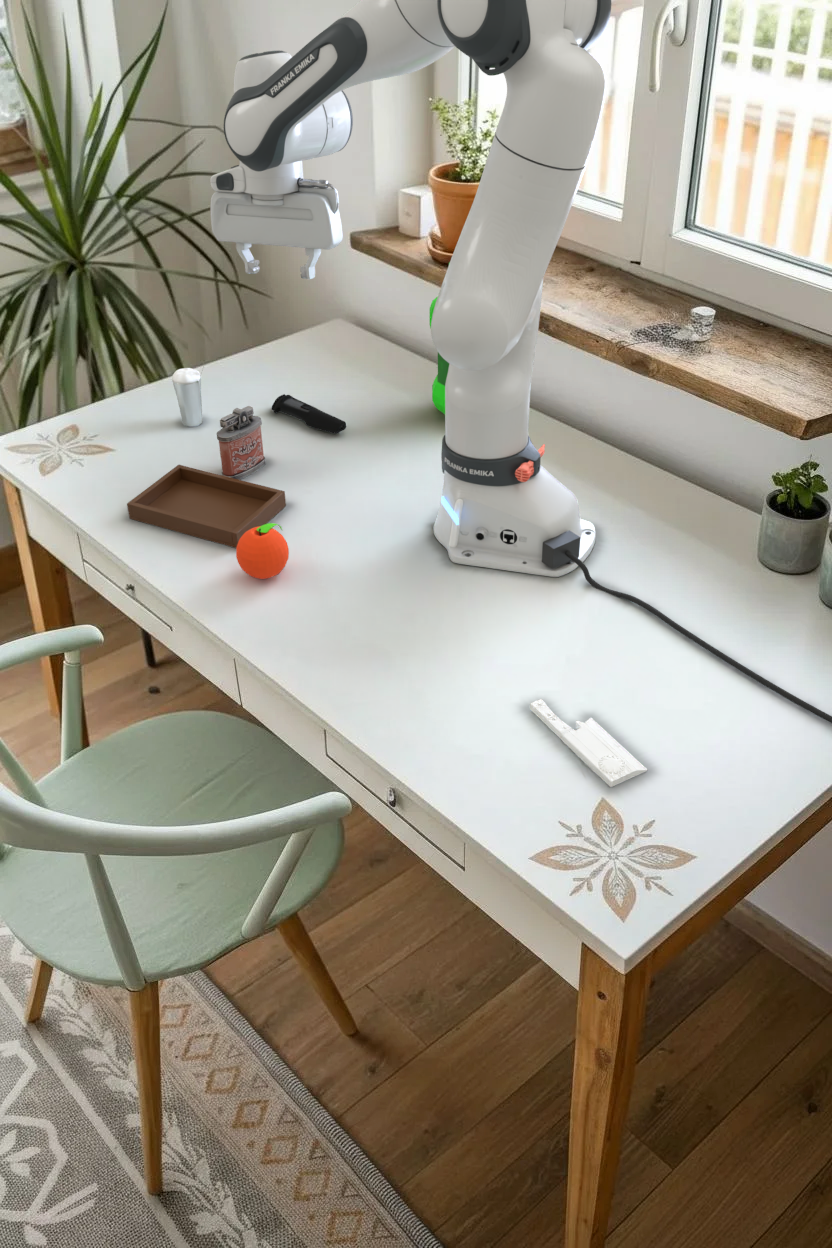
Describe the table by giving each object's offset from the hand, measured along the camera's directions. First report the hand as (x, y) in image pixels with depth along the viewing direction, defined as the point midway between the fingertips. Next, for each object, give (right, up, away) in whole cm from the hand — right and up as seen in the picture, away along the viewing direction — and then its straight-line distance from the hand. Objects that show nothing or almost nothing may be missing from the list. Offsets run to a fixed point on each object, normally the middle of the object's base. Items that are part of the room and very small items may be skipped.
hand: (280, 275), depth 179 cm
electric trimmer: (+3, -19, +18) cm, 26 cm away
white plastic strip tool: (+39, -64, -44) cm, 87 cm away
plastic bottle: (+27, -17, +20) cm, 38 cm away
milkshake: (-16, -19, +19) cm, 31 cm away
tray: (-10, -35, -4) cm, 37 cm away
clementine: (0, -45, -16) cm, 47 cm away
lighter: (-6, -28, +6) cm, 29 cm away
